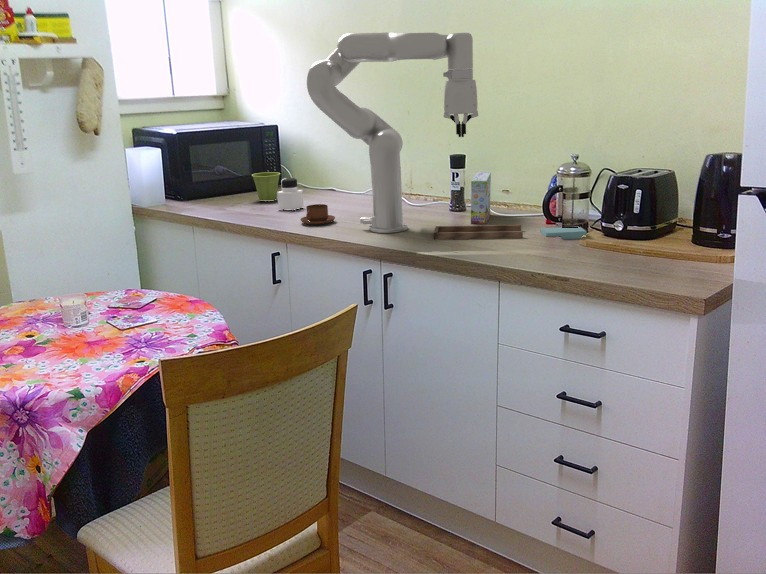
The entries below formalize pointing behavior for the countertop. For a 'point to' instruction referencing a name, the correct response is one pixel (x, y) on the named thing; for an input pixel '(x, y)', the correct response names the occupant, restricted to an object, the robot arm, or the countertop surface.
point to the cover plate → (564, 232)
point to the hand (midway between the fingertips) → (461, 136)
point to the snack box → (480, 198)
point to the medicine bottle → (290, 195)
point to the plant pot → (266, 185)
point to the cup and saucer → (317, 215)
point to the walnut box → (478, 232)
